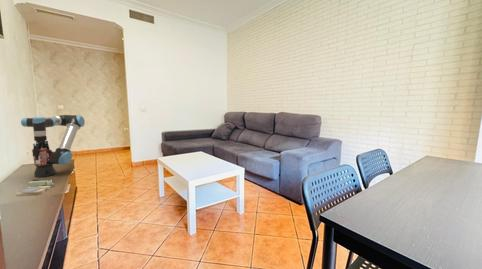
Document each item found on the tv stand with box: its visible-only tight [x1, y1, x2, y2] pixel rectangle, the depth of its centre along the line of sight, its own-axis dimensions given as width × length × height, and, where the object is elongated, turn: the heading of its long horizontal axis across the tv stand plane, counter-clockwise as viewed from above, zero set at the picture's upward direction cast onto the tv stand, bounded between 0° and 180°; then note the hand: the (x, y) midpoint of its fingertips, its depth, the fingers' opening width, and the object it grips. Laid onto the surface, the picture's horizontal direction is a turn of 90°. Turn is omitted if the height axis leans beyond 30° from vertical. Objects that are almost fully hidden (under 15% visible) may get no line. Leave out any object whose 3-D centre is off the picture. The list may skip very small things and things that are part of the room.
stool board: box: [15, 178, 55, 197], centre depth 165 cm, size 18×14×6 cm
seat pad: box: [19, 187, 41, 193], centre depth 162 cm, size 11×11×1 cm
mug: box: [31, 148, 53, 167], centre depth 179 cm, size 13×9×14 cm
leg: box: [27, 179, 53, 187], centre depth 170 cm, size 15×4×4 cm, turn 109°
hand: (42, 161), depth 179 cm, fingers closed on mug, 10 cm apart
